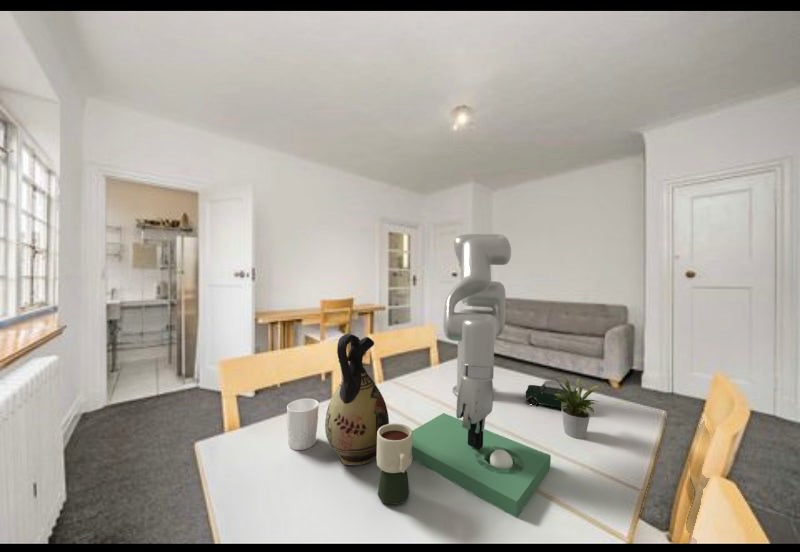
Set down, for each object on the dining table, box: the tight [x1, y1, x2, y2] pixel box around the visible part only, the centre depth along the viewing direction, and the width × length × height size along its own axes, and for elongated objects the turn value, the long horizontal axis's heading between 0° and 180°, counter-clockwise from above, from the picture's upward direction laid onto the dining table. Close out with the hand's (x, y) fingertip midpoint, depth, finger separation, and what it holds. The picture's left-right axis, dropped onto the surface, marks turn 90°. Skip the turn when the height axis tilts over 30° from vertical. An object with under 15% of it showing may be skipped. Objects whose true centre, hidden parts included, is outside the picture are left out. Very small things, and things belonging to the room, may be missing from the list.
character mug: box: [376, 423, 413, 505], centre depth 61 cm, size 11×7×13 cm, turn 20°
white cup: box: [286, 398, 320, 451], centre depth 79 cm, size 8×8×10 cm
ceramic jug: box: [324, 333, 390, 466], centre depth 74 cm, size 17×15×30 cm
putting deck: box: [412, 412, 552, 519], centre depth 73 cm, size 30×20×3 cm, turn 47°
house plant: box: [547, 375, 602, 440], centre depth 87 cm, size 14×14×16 cm
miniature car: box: [524, 380, 583, 409], centre depth 105 cm, size 9×18×8 cm, turn 60°
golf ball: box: [490, 450, 513, 469], centre depth 68 cm, size 5×5×5 cm
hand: (475, 445), depth 73 cm, fingers closed
